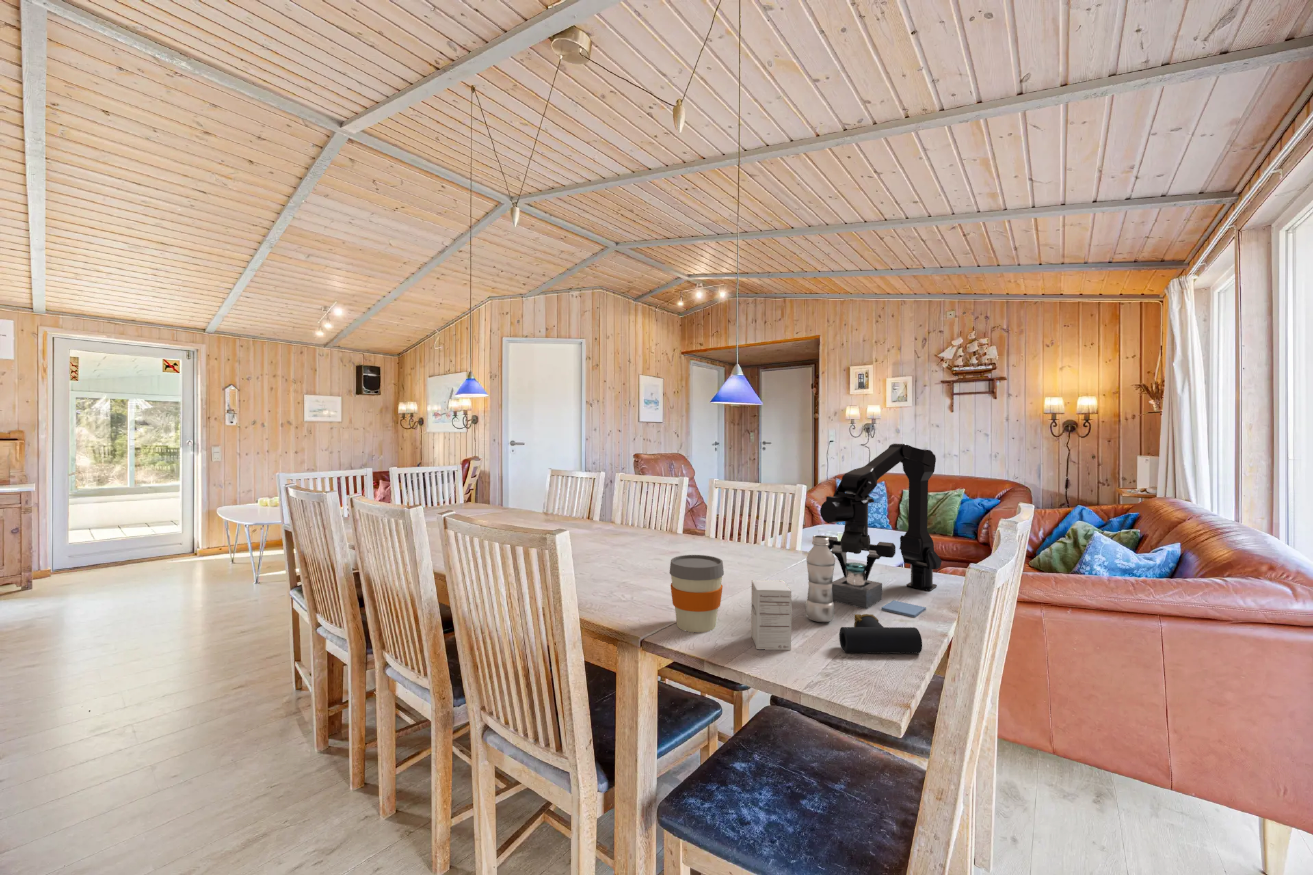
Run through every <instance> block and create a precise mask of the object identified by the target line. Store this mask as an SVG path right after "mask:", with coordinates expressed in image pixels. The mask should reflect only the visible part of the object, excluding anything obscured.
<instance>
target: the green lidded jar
mask: <svg viewBox="0 0 1313 875" xmlns="http://www.w3.org/2000/svg"><path fill="white" fill-rule="evenodd" d="M846 570H847V585H851V586H856V587H861V588H862V587H864V586H865V572H866V564H865V563H861V562H854V561H853V562H847V563H846Z"/></svg>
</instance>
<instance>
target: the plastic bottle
mask: <svg viewBox="0 0 1313 875" xmlns="http://www.w3.org/2000/svg"><path fill="white" fill-rule="evenodd" d="M827 536H828V535H820V534H819V535H816V534H815V535H812V543H811V544H812V545H813V546H812V547H811V549H810V550H809V552H808V553H807V555H806V566H807V576H808V577H807V578H808V579H807V580H808V582H807V583H808V588H807V598H806V601H805V608H804V609H805V614H806V616H807V618H808V619H809V620H811V621H814V622H818V623H828V622H831V621H832V620H833V619H834V616H835V605H834V604H835V602H834V601H833V596H832V582H833V581H834V580H833V579H834V571H835V565H836V558H835V557H836V556H835V555H834V554H833V553H832V552H831V551H832V550H830V549H829V548H828V546H829V537H827Z"/></svg>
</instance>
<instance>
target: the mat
mask: <svg viewBox="0 0 1313 875" xmlns="http://www.w3.org/2000/svg"><path fill="white" fill-rule="evenodd" d="M926 610H927V607H925V606H922V605H918V604H913V603H908V602H904V601H899V600H892V601H890V602H888V603H886V604H884V605H883V606H882V607H881V611H883V612H884V611H885V612H889V613H893V614H894V613H895V614H897V615H902V616H905V617H910V618H914V619H915V618H917V617H918V616H919V615H921V614H922V613H923V612H925V611H926Z"/></svg>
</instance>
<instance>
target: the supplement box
mask: <svg viewBox="0 0 1313 875" xmlns="http://www.w3.org/2000/svg"><path fill="white" fill-rule="evenodd" d="M750 615H751V616H750V618H751V619H750V623H751V624H750V626H751V627H750V629H751V630H750V635H751V638H752V640H753V642H754V646H755V649H756V650H757V649H765V650H764V651H791V650H792V590H791V589H790V586H788V584H787V583H786V582H785V581H784V580H780V579H777V580H776V579H775V580H774V579H771V580H770V579H769V580H768V579H756V580H754V579H753V580H751V614H750Z"/></svg>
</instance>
